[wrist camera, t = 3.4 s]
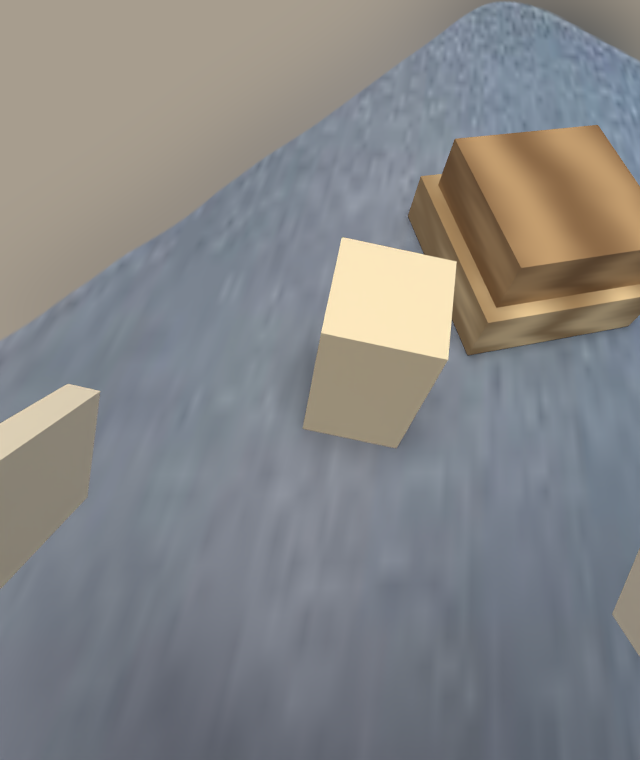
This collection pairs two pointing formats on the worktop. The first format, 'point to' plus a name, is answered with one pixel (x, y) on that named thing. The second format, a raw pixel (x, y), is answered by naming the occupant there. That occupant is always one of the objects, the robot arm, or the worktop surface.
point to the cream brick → (380, 342)
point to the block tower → (534, 236)
